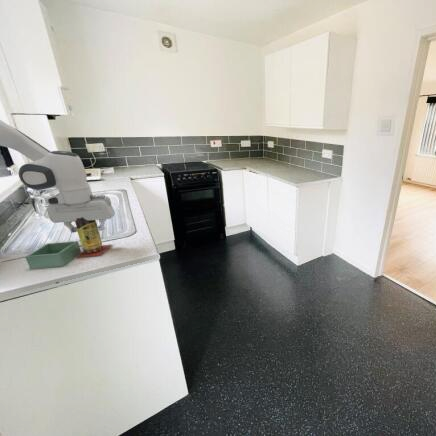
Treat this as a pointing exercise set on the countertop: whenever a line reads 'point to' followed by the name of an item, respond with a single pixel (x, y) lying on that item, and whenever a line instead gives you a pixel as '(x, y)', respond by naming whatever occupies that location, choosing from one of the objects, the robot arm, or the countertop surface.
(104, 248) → the drying mat
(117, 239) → the countertop surface
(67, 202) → the robot arm
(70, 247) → the green open tray
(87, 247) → the sauce bottle
